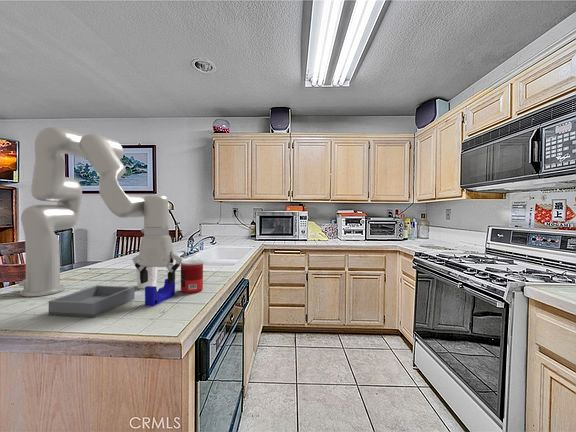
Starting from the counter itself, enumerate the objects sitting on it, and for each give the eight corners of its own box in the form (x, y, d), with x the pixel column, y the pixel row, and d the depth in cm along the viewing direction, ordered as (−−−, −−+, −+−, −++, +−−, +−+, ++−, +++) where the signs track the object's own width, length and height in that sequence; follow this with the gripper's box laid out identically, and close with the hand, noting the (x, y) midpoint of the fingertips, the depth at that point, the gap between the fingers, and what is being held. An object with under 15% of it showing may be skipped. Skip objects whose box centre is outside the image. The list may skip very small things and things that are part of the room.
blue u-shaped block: (163, 294, 106) (163, 278, 106) (175, 295, 105) (174, 278, 105) (140, 305, 94) (140, 286, 94) (153, 306, 93) (153, 287, 93)
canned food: (207, 289, 113) (207, 260, 112) (192, 295, 105) (192, 264, 105) (191, 287, 116) (191, 259, 116) (176, 292, 109) (176, 262, 108)
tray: (48, 315, 85) (48, 301, 85) (96, 296, 102) (96, 285, 102) (93, 317, 83) (93, 303, 83) (134, 298, 101) (134, 286, 101)
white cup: (162, 285, 117) (162, 260, 117) (143, 290, 111) (143, 263, 111) (150, 283, 122) (150, 258, 121) (131, 287, 115) (131, 261, 115)
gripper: (125, 233, 96) (126, 285, 97) (175, 233, 94) (176, 286, 95) (139, 231, 104) (140, 279, 104) (186, 231, 102) (187, 280, 102)
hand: (157, 282), depth 99 cm, fingers open, 9 cm apart
